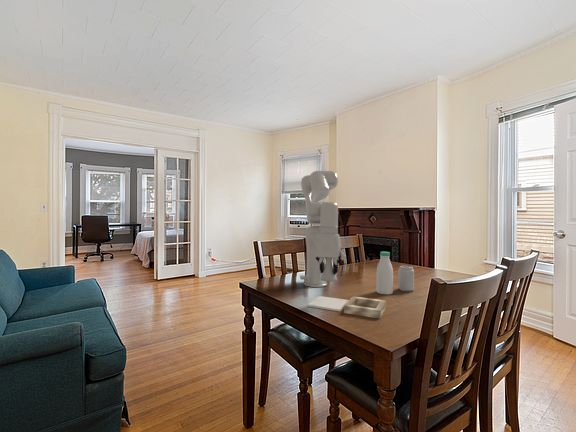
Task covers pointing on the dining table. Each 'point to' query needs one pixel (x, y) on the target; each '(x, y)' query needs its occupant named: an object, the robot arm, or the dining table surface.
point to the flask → (328, 271)
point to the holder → (365, 311)
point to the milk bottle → (384, 274)
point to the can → (406, 278)
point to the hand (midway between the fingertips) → (328, 272)
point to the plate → (328, 303)
